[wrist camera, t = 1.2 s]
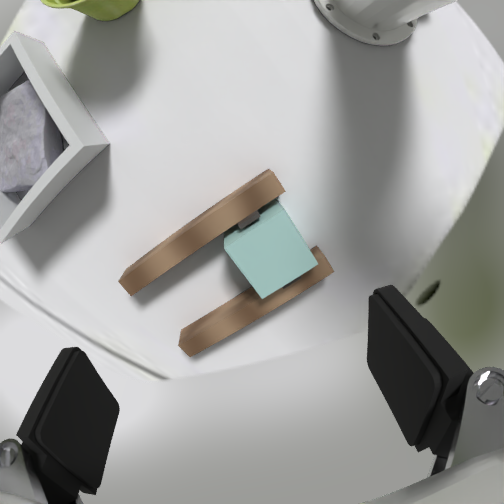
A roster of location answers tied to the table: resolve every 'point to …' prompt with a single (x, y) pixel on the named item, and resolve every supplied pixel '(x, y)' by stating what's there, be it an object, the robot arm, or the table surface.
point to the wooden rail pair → (203, 231)
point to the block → (269, 250)
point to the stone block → (26, 139)
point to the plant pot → (96, 7)
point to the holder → (66, 118)
